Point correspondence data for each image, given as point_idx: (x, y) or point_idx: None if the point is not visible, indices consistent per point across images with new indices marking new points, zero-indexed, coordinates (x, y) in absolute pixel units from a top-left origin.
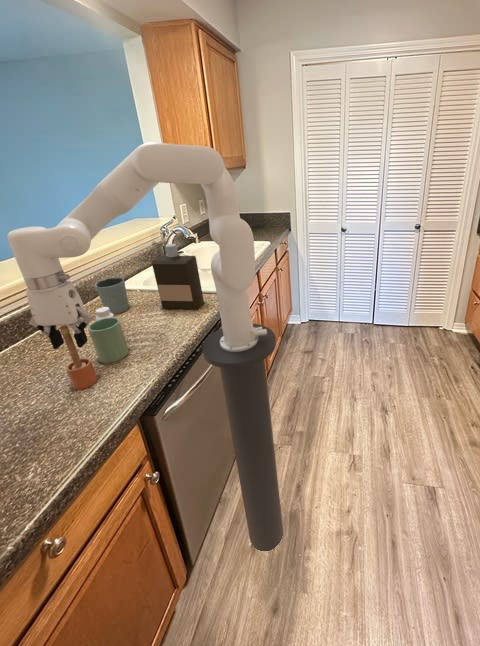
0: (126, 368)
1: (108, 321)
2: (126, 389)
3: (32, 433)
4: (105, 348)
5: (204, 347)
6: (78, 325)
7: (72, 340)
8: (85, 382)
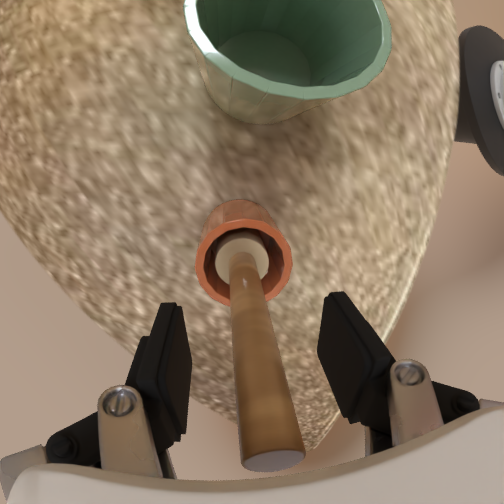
0: (347, 169)
1: None
2: (377, 272)
3: (223, 384)
4: (286, 116)
5: (472, 92)
6: (389, 406)
7: (278, 350)
8: None
